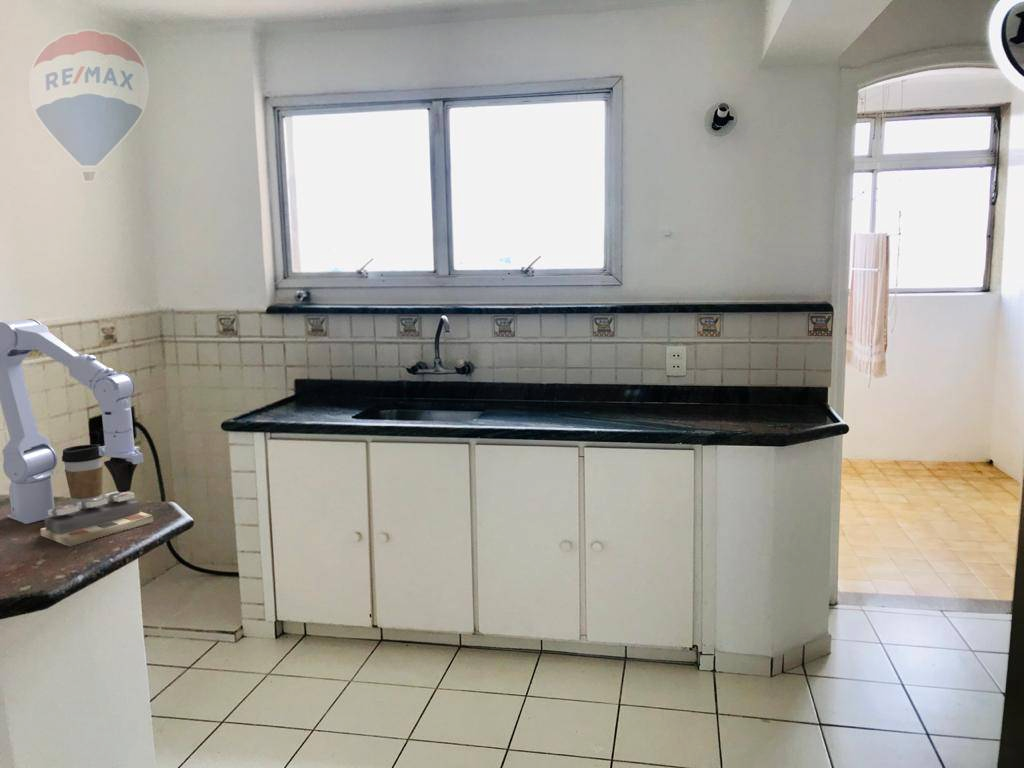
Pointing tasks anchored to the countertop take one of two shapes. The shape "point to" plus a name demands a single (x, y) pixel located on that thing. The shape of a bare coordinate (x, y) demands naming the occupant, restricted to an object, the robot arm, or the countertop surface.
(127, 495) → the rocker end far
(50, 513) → the rocker end near
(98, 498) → the rocker middle
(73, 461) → the coffee cup
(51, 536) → the switch unit
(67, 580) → the countertop surface
